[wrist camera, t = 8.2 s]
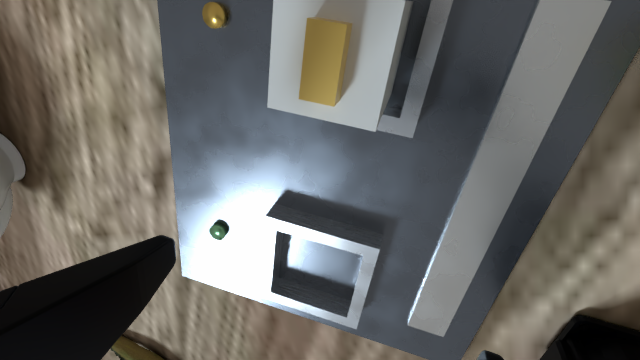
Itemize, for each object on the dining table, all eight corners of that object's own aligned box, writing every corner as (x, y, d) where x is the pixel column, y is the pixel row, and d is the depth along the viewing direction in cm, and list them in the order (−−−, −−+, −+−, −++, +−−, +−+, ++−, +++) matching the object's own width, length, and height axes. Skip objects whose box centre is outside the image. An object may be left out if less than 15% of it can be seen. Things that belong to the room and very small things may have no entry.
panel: (662, -21, 13) (708, -25, 11) (454, 356, 25) (457, 389, 23) (163, -86, 17) (125, -98, 15) (189, 267, 29) (170, 288, 27)
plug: (413, 1, 15) (403, 0, 9) (391, 92, 17) (372, 139, 11) (325, -13, 15) (263, -22, 10) (314, 76, 17) (257, 113, 12)
